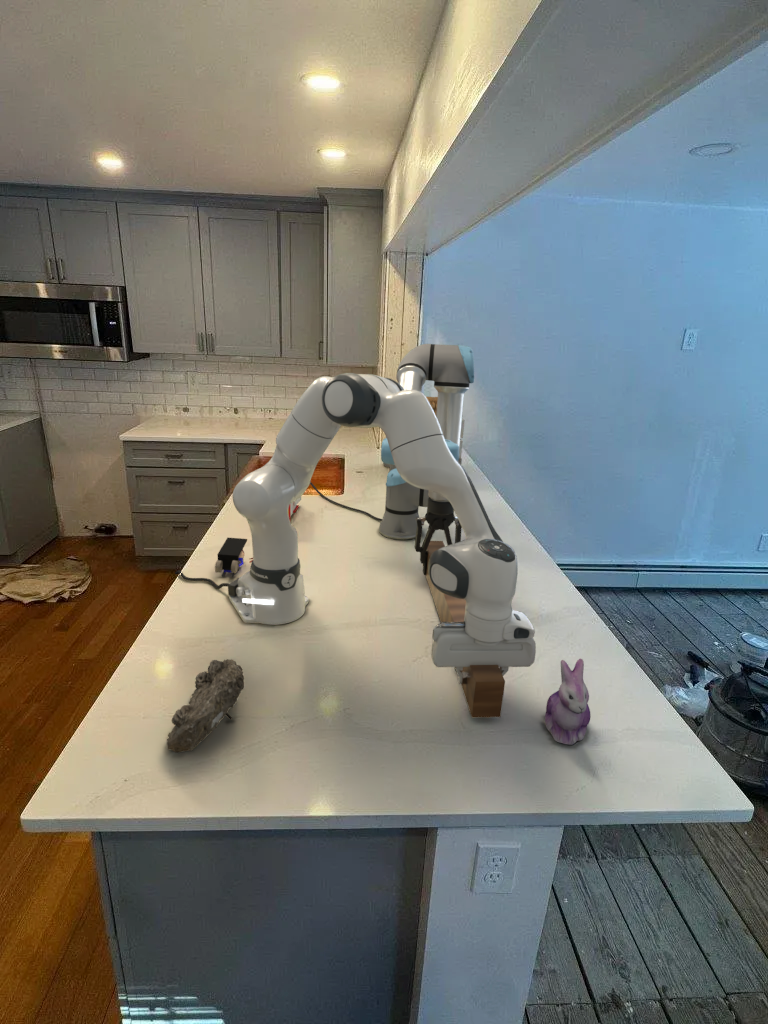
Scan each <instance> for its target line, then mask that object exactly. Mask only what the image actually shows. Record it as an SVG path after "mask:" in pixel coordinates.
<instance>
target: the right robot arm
mask: <svg viewBox="0 0 768 1024" xmlns="http://www.w3.org/2000/svg"><path fill="white" fill-rule="evenodd" d="M395 378H396V382H397V383H399V384H400V385H401V386H402V387H403V389H404V390H417V391H420V392H421V393H422V389H423V386H424V385H425V383H426V382H427V381H428V382H429V381H430V382H433V387H434V389H435V391H437V397H438V399H437V412H436V417H437V419H438V422H439V424H440V427H441V430H442V433H443V436H444V439H445V441H446V444H447V446H448V448H449V450H450V452H451V453H452V455H453V457H454V458H455V460H456V461H457V462H458V461H459V445H460V439H461V438H460V434H461V422H462V419H463V410H464V399H465V393H466V392H467V391H468V390H469V389H470V384H474V383H475V358H474V350H473V348H472V347H470V346H467V345H460V344H440V343H439V344H438V343H437V344H436V343H435V344H434V343H423V344H419V345H417V346H415V347H413V348H412V349H411V350H410V351H408V352H407V353H406V354H405V355H404V356H403V358H402V359H401V360H400V362H399V364H398V367H397V369H396V377H395ZM380 460H381V462H382V463H385V464H392V465H395V464H394V460H393V457H392V454H391V451H390V447H389V444H388V440H387V438H386V437H385V438H383V439H382V441H381V447H380ZM309 485H311V487H312V488H313V490H315V492H316V493H317V494H318V495H320V496H321V497H322V498H323V499H325V500H326V501H328V502H330V503H332V504H334V505H336V506H339V507H342V508H344V509H347V510H349V511H350V510H351V511H355V512H359V513H361V514H364V515H367V516H369V517H370V518H372V519H373V520H376V521H379V527H378V533H379V534H380V535H381V536H382V537H385V538H387V539H389V540H395V541H410V540H414V551H415V552H416V553H420V554H419V562H420V564H422V574H423V576H426V575H427V563H428V553H427V548H428V546H429V543H430V541H432V538H433V535H434V534H435V532H436V531H443V532H444V537H445V540H446V546H448V545H451V544H453V541H452V537H451V531H450V526H451V525H452V524H453V523H454V524H455V527H454V528H455V529H454V533H455V534H454V535H455V536H454V543H458V542H461V541H462V527H461V524H460V522H459V520H458V518H457V516H455V511H454V509H453V507H452V505H451V503H450V502H449V501H448V500H447V499H446V498H445V497H444V496H442V495H440V494H438V493H436V492H433V491H429V490H425V489H420V488H417V487H415V486H412V485H410V484H409V483H407V482H406V481H405V480H403V479H402V477H401V476H400V474H399V473H398V471H397V469H393V470H391V471H390V470H389V471H388V473H387V475H386V482H385V487H386V488H385V489H386V490H385V504H384V505H385V507H384V508H385V509H384V513H383V515H382V518H380V517H378V516H377V517H376V516H375V515H372V514H371V513H369V512H367V511H365V510H362V509H358V508H355V507H352V506H348V505H345V504H342V503H339V502H336V501H335V500H332V499H330V498H328V497H327V496H325V495H324V494H323V493H322V492H320V490H318V488H317V487H316V486H315V485H314V484H313V482H311V481H310V484H309ZM420 507H421V508H422V507H423V508H426V513H425V514H424V516H420V515H419V508H420ZM425 522H426V523H427V524H428V527H427V531H426V533H425V536H424V539H423V541H422V535H423V526H424V525H425ZM421 542H422V543H421Z"/></svg>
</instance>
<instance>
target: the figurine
mask: <svg viewBox="0 0 768 1024" xmlns="http://www.w3.org/2000/svg"><path fill="white" fill-rule="evenodd" d="M584 667H585V662H584V659H583V658H579V659H577V660H576V662H575V665H574V667H573V669H572V670H571V668H570V666H569V664H568V663H567V662H566V661H565V660H564V659H562V660H560V679H561V684H560V685H559V688H558V690H557V691H555V692H553V693H552V694H550V696H549V697H548V699H547V701H546V706H545V713H544V723H545V727H546V729H547V731H548V732H549V733H550V734H551V737H552V738H553V740H554V741H555V742H557V743H560V744H564V745H570V746H571V745H572V746H573V745H575V744H576V743H577V742H580V741H582V740H583V739H584V738H585V736H586V732H587V728H588V725H589V724H590V721H591V716H592V715H591V709H590V706H589V704H588V703H589V700H590V694H589V693H590V692H589V689H588V687H587V684H586V683H585V681H584V670H585V669H584Z"/></svg>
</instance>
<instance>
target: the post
mask: <svg viewBox="0 0 768 1024" xmlns="http://www.w3.org/2000/svg"><path fill="white" fill-rule="evenodd" d="M445 546H446V545H445V543H444V541H443V540H431V541H430V543H429V546H428V548H427V553H428V563H429V559H430V557H431V555H432V553H433V552H434V551H436V550H438V549H440V548H442V547H445ZM428 563H427V575H425V578H426V580H427V584H428V587H429V590H430V593H431V596H432V599H433V603H434V605H435V608H436V612H437V615H438V617H439V620H440V623H441V622H464V617H465V607H466V600H465V599H459V598H455V597H452V596H449V595H446V594H444V593H442V592H440V591H439V590H438V589H436V588H435V586H434V585H433V584H432V582H431V580H430V577H429V573H428ZM461 672H465V673H466V676H467V683H466V684H460V686H461V689H462V691H463V694H464V697H465V698H464V699H465V701H466V704H467V707H468V710H469V714H470V716H471V718H472V719H473V718H474V719H475V718H477V719H478V718H479V719H480V718H501V715H502V708H503V700H504V693H505V687H506V680H505V678H504V676H503V675H502V673H501V671H500V669H499V666H498V665H470V667H463V670H462V671H461Z"/></svg>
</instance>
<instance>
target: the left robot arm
mask: <svg viewBox="0 0 768 1024" xmlns="http://www.w3.org/2000/svg"><path fill="white" fill-rule="evenodd" d="M426 397H427V396H426V395H425V394H424V393H423V392H422V391H421V392H420V391H417V390H404V389H403V387H402V386H401V385H400V384H399V383H398V382H397V380H394V379H392V378H389V377H383V376H380V375H377V374H372V373H365V374H364V373H355V372H343V373H340V374H337V375H335V376H333V377H332V376H329V375H328V376H327V375H323V376H319V377H317V378H316V379H315V380H313V381H312V383H311V384H310V385H308V387H307V388H306V390H304V391H303V393H302V394H301V396H300V397H299V398H298V400H297V401H296V403H295V404H294V406H293V408H292V409H291V411H290V413H289V414H288V416H287V418H286V419H285V421H284V423H283V425H282V426H281V428H280V429H279V431H278V433H277V434H276V437H275V444H276V446H275V449H274V452H273V455H272V456H271V458H270V459H269V461H268V462H266V463H265V464H264V465H263V466H261V467H259V468H257V469H255V470H253V471H251V472H249V473H247V474H246V475H245V476H244V477H243V478H242V479H240V481H239V482H238V483H237V484H236V485H235V486H234V488H233V492H232V502H233V505H234V508H235V510H236V511H237V512H238V514H240V515H241V516H242V517H243V518H245V519H246V521H247V524H248V526H249V530H250V534H251V543H252V546H251V547H252V557H251V558H250V557H249V564H250V563H251V564H250V567H249V570H248V571H247V572H246V573H244V574H242V575H241V576H240V577H237V578H236V579H234V580H233V581H231V582H230V583H228V582H223V583H220V584H217V583H216V582H215V581H214V580H212V579H210V578H207V577H189V576H186V575H185V574H184V573H183V572H182V570H180V569H178V570H176V571H175V572H174V574H175V575H178V574H179V575H180V573H181V572H182V573H181V575H180V577H181V578H182V579H183V580H185V581H189V582H206V583H209V584H211V585H212V586H213V588H215V589H219V590H221V589H222V588H223V587H227V594H228V599H229V601H230V602H231V604H232V605H233V607H234V609H235V610H236V613H237V614H238V615H239V617H240V619H241V620H242V622H243V623H246V624H263V625H271V626H272V625H273V626H274V625H277V626H278V625H284V624H288V623H291V622H295V621H297V620H298V619H300V618H301V617H303V615H304V614H305V612H306V606H307V605H308V604H309V601H310V600H309V597H308V596H306V592H305V581H304V575H303V574H301V560H300V558H299V532H298V530H297V528H296V527H295V526H294V525H292V522H291V518H290V519H289V515H288V509H289V505H290V504H291V503H293V502H294V501H296V500H297V499H299V498H300V497H301V498H302V496H303V495H304V493H305V492H306V491H307V489H308V488H309V486H310V485H311V484H310V482H311V481H312V480H311V479H312V477H313V475H314V472H315V470H316V468H317V465H318V463H319V461H320V460H321V459H322V457H323V455H324V454H325V452H326V451H327V449H328V447H330V444H331V442H332V441H333V440H334V438H335V436H336V435H337V433H338V431H340V428H341V427H342V426H343V427H347V428H359V429H370V428H379V429H381V431H382V432H383V433H384V435H385V438H387V440H388V444H389V447H390V451H391V454H392V457H393V460H394V464H395V466H396V469H397V471H398V473H399V474H400V476H401V477H402V479H403V480H405V481H406V482H407V483H409V484H410V485H412V486H415V487H417V488H420V489H425V490H429V491H433V492H436V493H438V494H440V495H442V496H444V497H445V498H446V499H447V500H448V501H449V502H450V503H451V505H452V507H453V509H454V515H456V516H455V517H457V518H458V520H459V522H460V524H461V527H462V528H461V530H462V532H463V533H464V536H465V539H464V540H461V542H458V543H455V542H453V543H452V544H451V545H445V547H442V548H440V549H438V550H436V551H434V552H433V553H432V555H431V557H430V559H429V563H428V573H429V577H430V580H431V582H432V584H433V585H434V586H435V588H436V589H438V590H439V591H440V592H442V593H444V594H446V595H449V596H452V597H455V598H459V599H465V600H466V607H465V617H464V622H441V621H440V623H438V624H437V625H435V626H434V627H433V629H432V640H433V642H432V646H431V652H430V657H431V660H432V664H434V665H435V667H436V668H454V669H455V671H456V673H457V682H458V685H461V684H466V683H467V676H466V673H465V672H461V671H462V670H463V667H470V665H498V666H499V669H500V671H501V673H502V675H503V677H504V676H505V675H506V674H507V673H508V671H509V668H530V667H531V666H532V665H533V664H534V663H535V661H536V653H537V646H536V644H537V643H536V641H535V639H534V637H535V634H536V630H535V628H534V626H533V624H532V622H531V621H530V619H529V617H528V616H527V615H526V614H525V613H524V612H521V611H518V610H515V609H513V605H512V604H513V603H512V602H513V598H514V596H515V595H516V591H517V584H518V583H517V582H518V568H519V567H518V558H517V554H516V552H515V550H514V548H513V547H512V546H510V545H509V544H508V543H506V542H505V541H503V539H502V537H501V536H500V535H499V533H498V532H497V531H496V529H495V527H494V525H493V524H492V522H491V519H490V518H489V515H488V513H487V511H486V509H485V506H484V504H483V501H482V500H481V497H480V496H479V493H478V491H477V489H476V487H475V485H474V482H473V481H472V478H471V476H470V475H469V473H468V472H467V470H466V468H465V467H464V466H463V465H462V464H461V465H460V464H459V463H458V462H457V461H456V460H455V458H454V457H453V455H452V453H451V452H450V450H449V448H448V446H447V444H446V441H445V439H444V436H443V433H442V430H441V427H440V424H439V422H438V419H437V417H436V415H435V413H434V411H433V409H432V407H431V405H430V403H429V401H428V400H427V398H426Z"/></svg>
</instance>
